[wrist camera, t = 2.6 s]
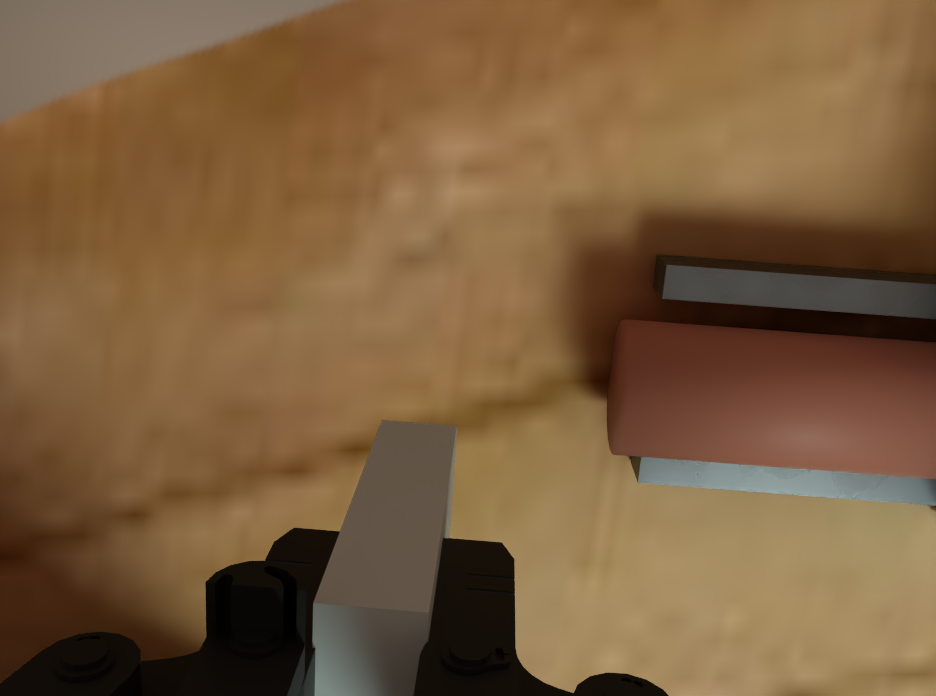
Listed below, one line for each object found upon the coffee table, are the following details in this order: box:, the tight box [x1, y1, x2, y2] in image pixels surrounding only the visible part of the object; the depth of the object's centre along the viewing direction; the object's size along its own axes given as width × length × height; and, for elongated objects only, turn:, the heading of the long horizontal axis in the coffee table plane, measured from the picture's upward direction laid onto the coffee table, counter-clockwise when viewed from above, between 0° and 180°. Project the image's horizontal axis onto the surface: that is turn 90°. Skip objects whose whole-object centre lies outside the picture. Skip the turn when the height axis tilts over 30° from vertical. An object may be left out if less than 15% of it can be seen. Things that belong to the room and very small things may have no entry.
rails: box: [631, 255, 936, 506], centre depth 27 cm, size 10×7×2 cm
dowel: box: [607, 319, 936, 479], centre depth 26 cm, size 10×4×4 cm, turn 86°
